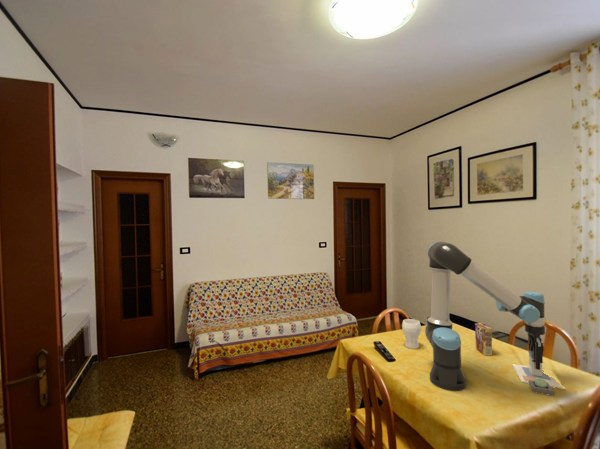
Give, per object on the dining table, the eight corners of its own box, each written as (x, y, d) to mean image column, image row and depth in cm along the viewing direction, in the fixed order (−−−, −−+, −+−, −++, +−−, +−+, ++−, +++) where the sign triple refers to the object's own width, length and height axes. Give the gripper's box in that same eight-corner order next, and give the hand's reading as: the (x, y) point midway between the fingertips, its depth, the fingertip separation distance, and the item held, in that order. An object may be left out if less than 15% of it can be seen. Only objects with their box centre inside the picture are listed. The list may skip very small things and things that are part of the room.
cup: (422, 344, 179) (422, 320, 179) (419, 351, 170) (418, 325, 170) (404, 341, 185) (404, 317, 185) (400, 347, 176) (400, 322, 176)
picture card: (521, 382, 135) (521, 380, 135) (512, 365, 151) (512, 363, 151) (566, 389, 128) (566, 388, 128) (551, 370, 145) (551, 369, 145)
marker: (531, 374, 140) (531, 353, 140) (529, 370, 144) (528, 350, 144) (542, 376, 138) (541, 355, 138) (539, 372, 142) (538, 351, 142)
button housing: (533, 392, 127) (533, 387, 127) (528, 384, 134) (528, 379, 134) (553, 395, 124) (553, 391, 124) (547, 387, 131) (547, 382, 131)
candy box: (493, 355, 162) (492, 328, 163) (485, 356, 162) (484, 328, 162) (482, 348, 171) (481, 322, 171) (475, 349, 171) (474, 323, 171)
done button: (536, 388, 128) (536, 382, 128) (533, 383, 132) (533, 377, 132) (548, 390, 126) (547, 384, 126) (544, 385, 130) (544, 379, 130)
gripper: (551, 331, 132) (552, 383, 132) (538, 320, 147) (539, 366, 147) (530, 329, 135) (531, 380, 135) (520, 318, 150) (521, 363, 150)
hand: (535, 372), depth 141 cm, fingers closed on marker, 4 cm apart
